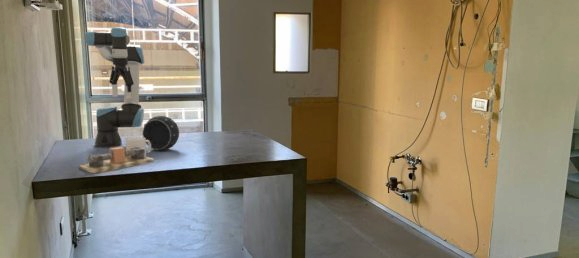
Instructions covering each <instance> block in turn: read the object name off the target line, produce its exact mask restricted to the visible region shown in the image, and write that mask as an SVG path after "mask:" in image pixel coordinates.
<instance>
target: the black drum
mask: <svg viewBox="0 0 579 258" xmlns="http://www.w3.org/2000/svg"><path fill="white" fill-rule="evenodd" d="M142 137H145V138H146V140H149V141H150V143H151V150H155V151H158V152H162V151H163V152H164V151H167V150H169V149H171V148H173V147H174V146H175V145H176V143H177V142H178V140H179V137H180V130H179V126H178V124H177V123H176V122H175V120H173V119H172V118H171V117H168V116H165V115H157V116H154V117H152V118H149V119H148V120H147V121H146V123H144V124H143V130H142ZM146 146H148V143H147V142H146Z"/></svg>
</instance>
